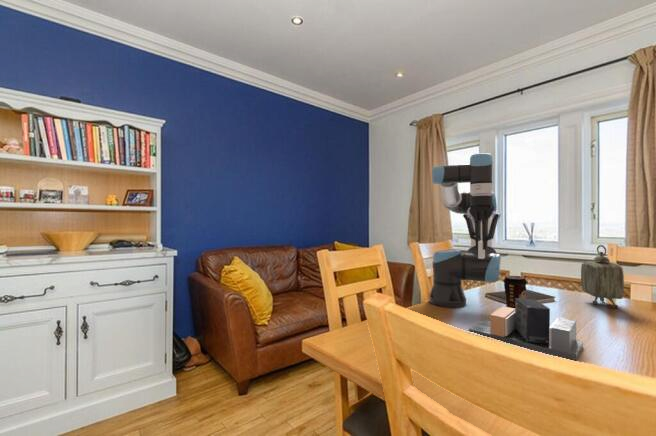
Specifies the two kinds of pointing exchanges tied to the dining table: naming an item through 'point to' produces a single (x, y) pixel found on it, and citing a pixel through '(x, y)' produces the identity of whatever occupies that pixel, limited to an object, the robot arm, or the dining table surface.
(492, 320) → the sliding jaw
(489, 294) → the hardcover book
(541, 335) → the small box
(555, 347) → the vise
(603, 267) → the tabletop clock
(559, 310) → the dining table surface
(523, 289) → the coffee cup
